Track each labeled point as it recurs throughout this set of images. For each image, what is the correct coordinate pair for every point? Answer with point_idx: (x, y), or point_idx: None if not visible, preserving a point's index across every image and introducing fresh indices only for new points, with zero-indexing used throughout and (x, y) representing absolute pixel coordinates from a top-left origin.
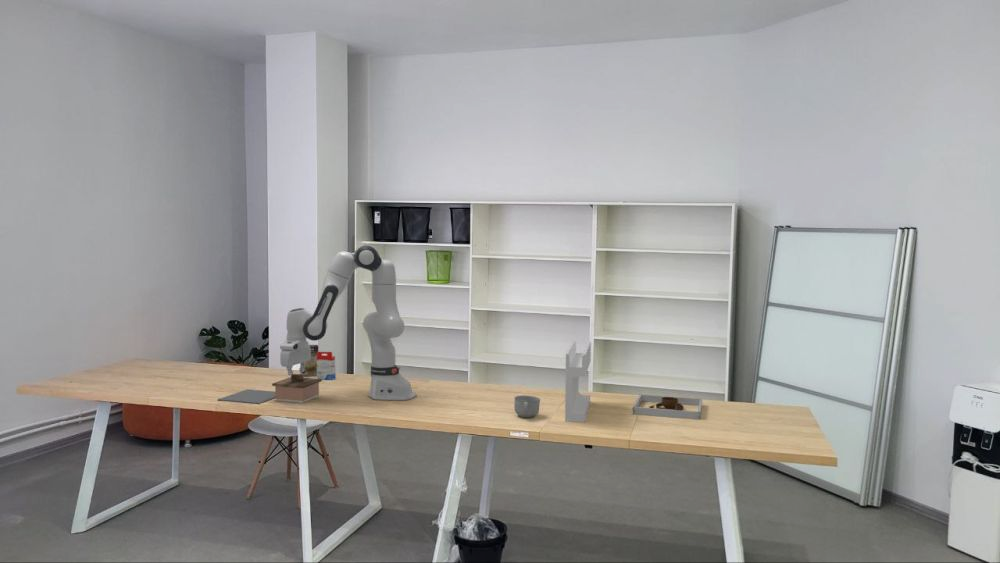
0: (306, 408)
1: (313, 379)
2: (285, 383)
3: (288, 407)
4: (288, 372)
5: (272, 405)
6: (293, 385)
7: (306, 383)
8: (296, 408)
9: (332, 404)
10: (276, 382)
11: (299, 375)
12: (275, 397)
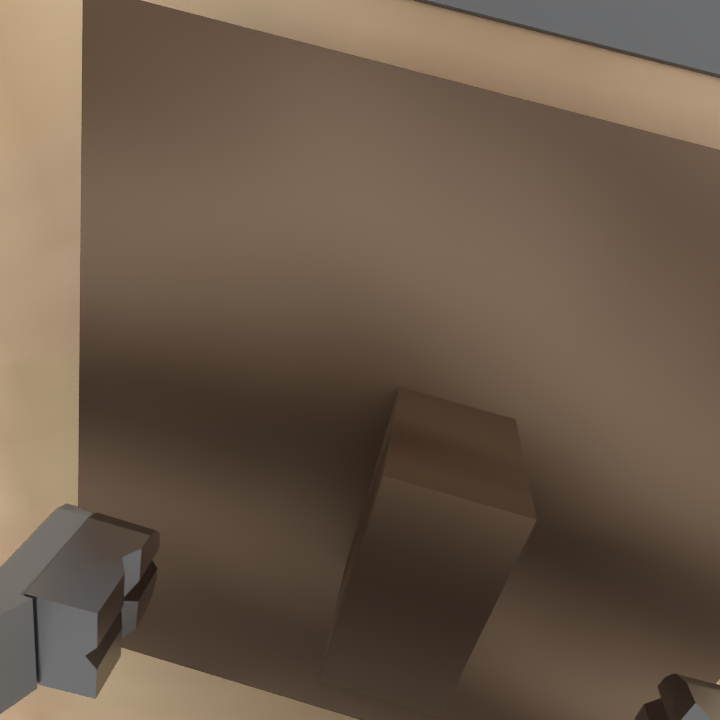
0: (35, 528)
1: (594, 709)
2: (174, 329)
3: (8, 368)
4: (15, 570)
5: (21, 151)
6: (82, 500)
7: (253, 653)
8: (3, 450)
9: (221, 682)
10: (230, 62)
11: (337, 660)
12: (444, 6)
